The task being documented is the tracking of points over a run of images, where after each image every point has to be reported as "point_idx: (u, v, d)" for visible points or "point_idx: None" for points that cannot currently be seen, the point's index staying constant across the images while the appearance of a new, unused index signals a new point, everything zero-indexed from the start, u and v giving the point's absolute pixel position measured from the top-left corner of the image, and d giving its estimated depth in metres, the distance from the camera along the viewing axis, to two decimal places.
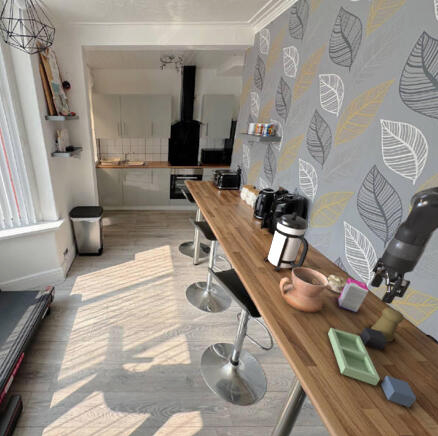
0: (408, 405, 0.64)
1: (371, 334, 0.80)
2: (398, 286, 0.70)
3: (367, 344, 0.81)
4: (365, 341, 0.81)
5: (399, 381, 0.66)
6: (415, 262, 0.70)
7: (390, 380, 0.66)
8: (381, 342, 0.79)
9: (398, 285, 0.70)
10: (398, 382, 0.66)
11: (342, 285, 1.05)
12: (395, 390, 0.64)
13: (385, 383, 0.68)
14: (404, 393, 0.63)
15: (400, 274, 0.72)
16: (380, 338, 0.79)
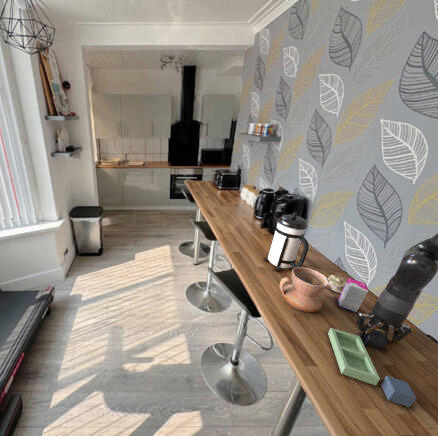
0: (408, 405, 0.64)
1: (371, 334, 0.80)
2: (357, 317, 0.82)
3: (367, 344, 0.81)
4: (365, 341, 0.81)
5: (399, 381, 0.66)
6: (383, 308, 0.75)
7: (390, 380, 0.66)
8: (381, 342, 0.79)
9: (357, 316, 0.82)
10: (398, 382, 0.66)
11: (342, 285, 1.05)
12: (395, 390, 0.64)
13: (385, 383, 0.68)
14: (404, 393, 0.63)
15: (372, 313, 0.79)
16: (380, 338, 0.79)
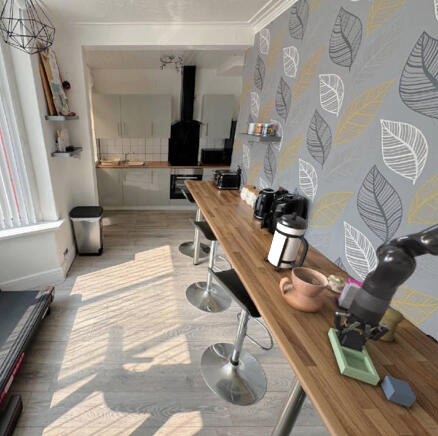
0: (408, 405, 0.64)
1: (348, 334, 0.77)
2: (334, 316, 0.78)
3: (344, 344, 0.77)
4: (342, 341, 0.78)
5: (399, 381, 0.66)
6: (359, 306, 0.72)
7: (390, 380, 0.66)
8: (358, 342, 0.75)
9: (334, 315, 0.78)
10: (398, 382, 0.66)
11: (342, 285, 1.05)
12: (395, 390, 0.64)
13: (385, 383, 0.68)
14: (404, 393, 0.63)
15: (348, 312, 0.75)
16: (357, 338, 0.76)
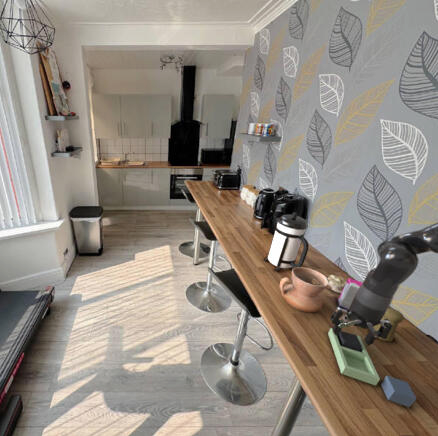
0: (408, 405, 0.64)
1: (346, 338, 0.78)
2: (334, 311, 0.78)
3: None
4: (340, 345, 0.79)
5: (399, 381, 0.66)
6: (360, 304, 0.71)
7: (390, 380, 0.66)
8: (356, 346, 0.76)
9: (334, 310, 0.78)
10: (398, 382, 0.66)
11: (342, 285, 1.05)
12: (395, 390, 0.64)
13: (385, 383, 0.68)
14: (404, 393, 0.63)
15: (349, 310, 0.75)
16: (355, 342, 0.77)
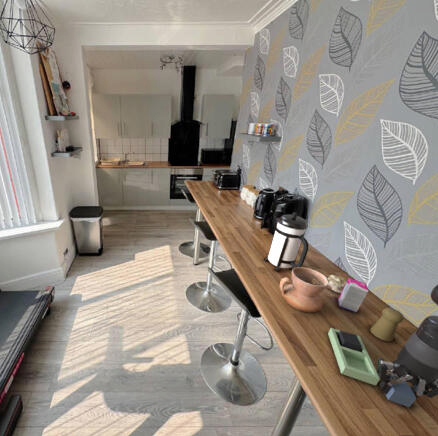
0: (408, 405, 0.64)
1: (346, 338, 0.78)
2: (377, 364, 0.66)
3: None
4: (340, 345, 0.79)
5: None
6: (412, 359, 0.59)
7: None
8: (356, 346, 0.76)
9: (377, 363, 0.66)
10: None
11: (342, 285, 1.05)
12: (395, 390, 0.64)
13: None
14: (404, 393, 0.63)
15: (397, 362, 0.63)
16: (355, 342, 0.77)
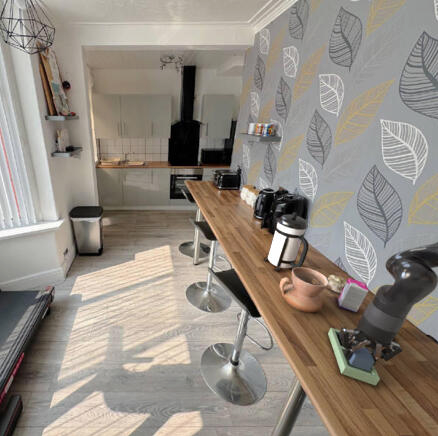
0: (368, 369, 0.70)
1: None
2: (341, 333, 0.72)
3: None
4: (340, 345, 0.79)
5: (361, 348, 0.72)
6: (369, 324, 0.65)
7: None
8: None
9: (341, 332, 0.72)
10: (360, 349, 0.72)
11: (342, 285, 1.05)
12: (356, 355, 0.70)
13: None
14: (364, 357, 0.69)
15: (357, 329, 0.69)
16: None
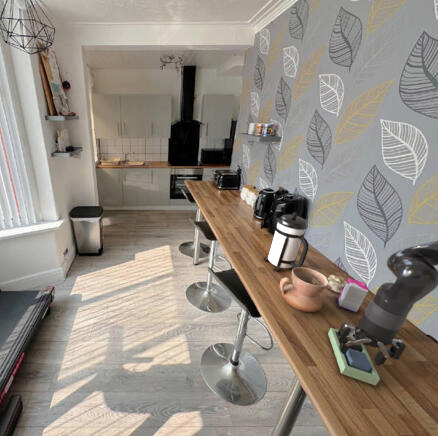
0: None
1: None
2: (340, 328, 0.72)
3: None
4: None
5: (358, 353, 0.73)
6: (370, 322, 0.65)
7: (350, 352, 0.73)
8: (356, 346, 0.76)
9: (341, 327, 0.72)
10: (357, 354, 0.73)
11: (342, 285, 1.05)
12: (353, 360, 0.71)
13: (346, 355, 0.75)
14: (361, 362, 0.70)
15: (358, 328, 0.69)
16: None
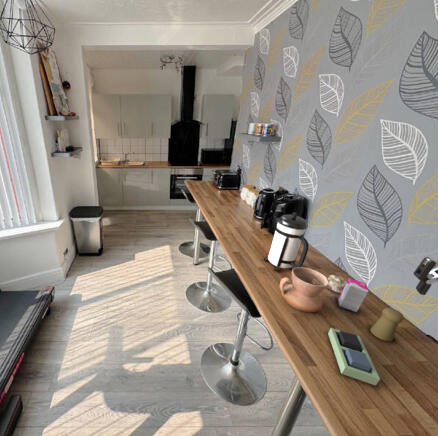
0: None
1: (346, 338, 0.78)
2: (420, 264, 0.63)
3: None
4: (340, 345, 0.79)
5: (358, 353, 0.73)
6: None
7: (350, 352, 0.73)
8: (356, 346, 0.76)
9: (421, 263, 0.63)
10: (357, 354, 0.73)
11: (342, 285, 1.05)
12: (353, 360, 0.71)
13: (346, 355, 0.75)
14: (361, 362, 0.70)
15: None
16: (355, 342, 0.77)
